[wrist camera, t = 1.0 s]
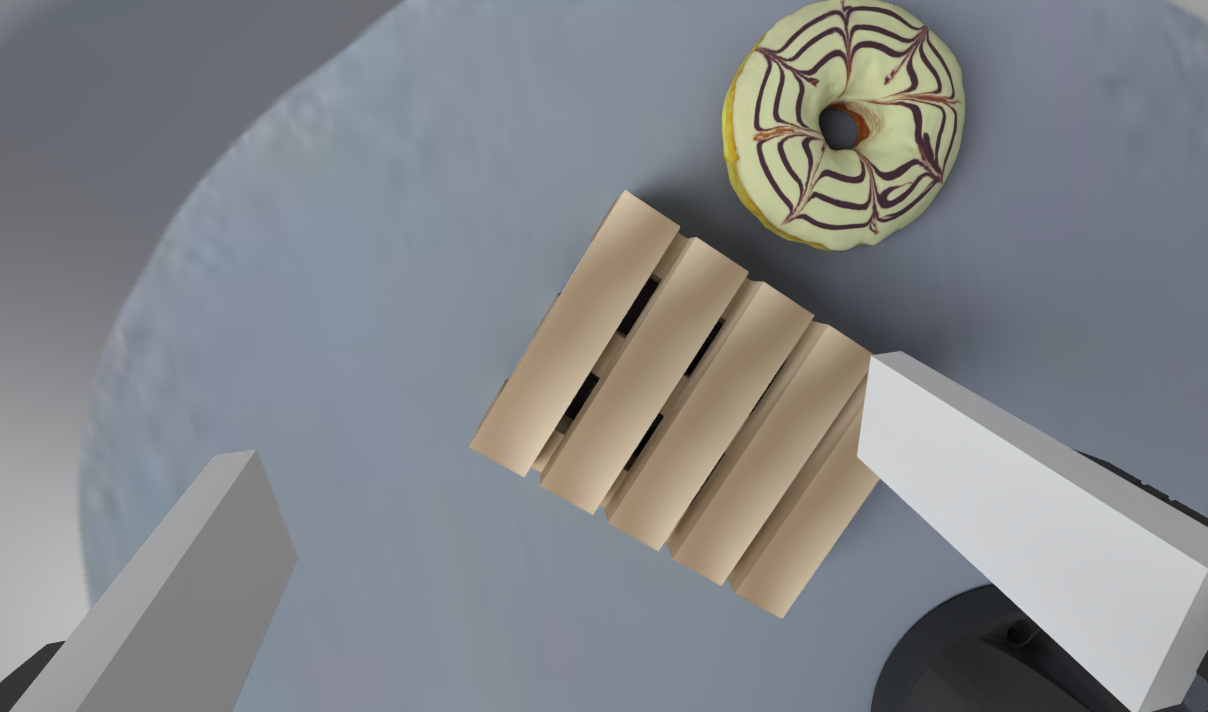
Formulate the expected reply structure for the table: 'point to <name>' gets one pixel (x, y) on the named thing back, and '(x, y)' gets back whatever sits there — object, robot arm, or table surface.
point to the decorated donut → (863, 90)
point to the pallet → (691, 410)
